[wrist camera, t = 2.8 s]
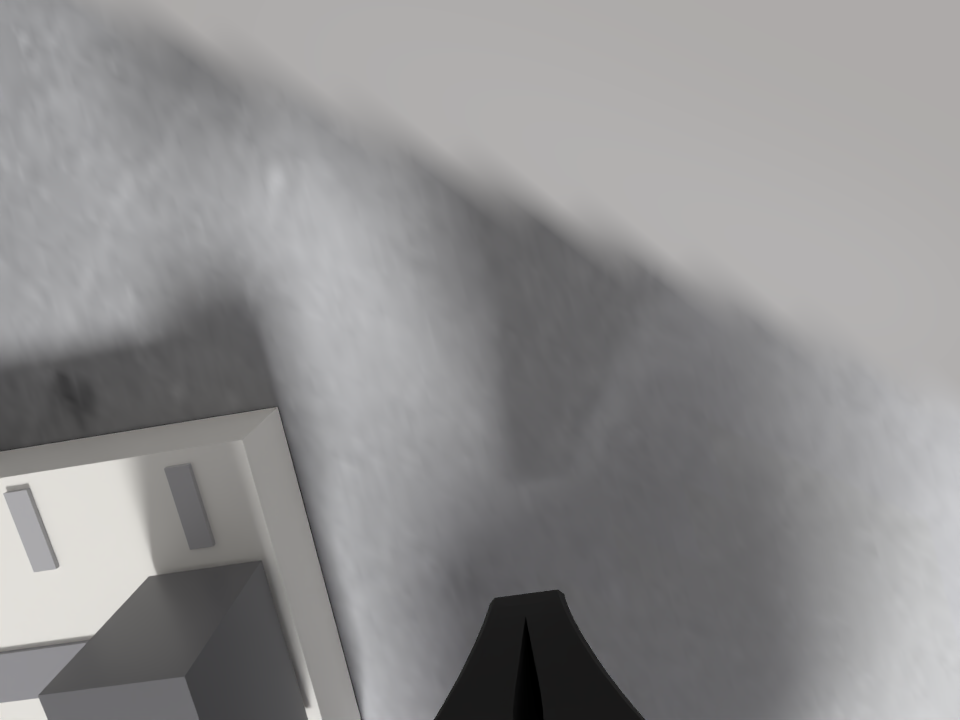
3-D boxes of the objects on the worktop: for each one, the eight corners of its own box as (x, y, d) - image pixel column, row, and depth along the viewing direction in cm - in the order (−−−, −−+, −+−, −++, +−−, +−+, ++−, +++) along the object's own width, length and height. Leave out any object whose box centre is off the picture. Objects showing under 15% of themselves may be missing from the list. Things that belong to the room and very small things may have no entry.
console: (364, 732, 16) (345, 808, 14) (20, 773, 17) (-45, 850, 15) (277, 407, 14) (240, 441, 12) (-113, 469, 15) (-210, 512, 13)
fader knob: (308, 723, 14) (252, 876, 11) (203, 735, 14) (117, 890, 11) (261, 559, 13) (184, 676, 10) (149, 576, 13) (37, 695, 10)
